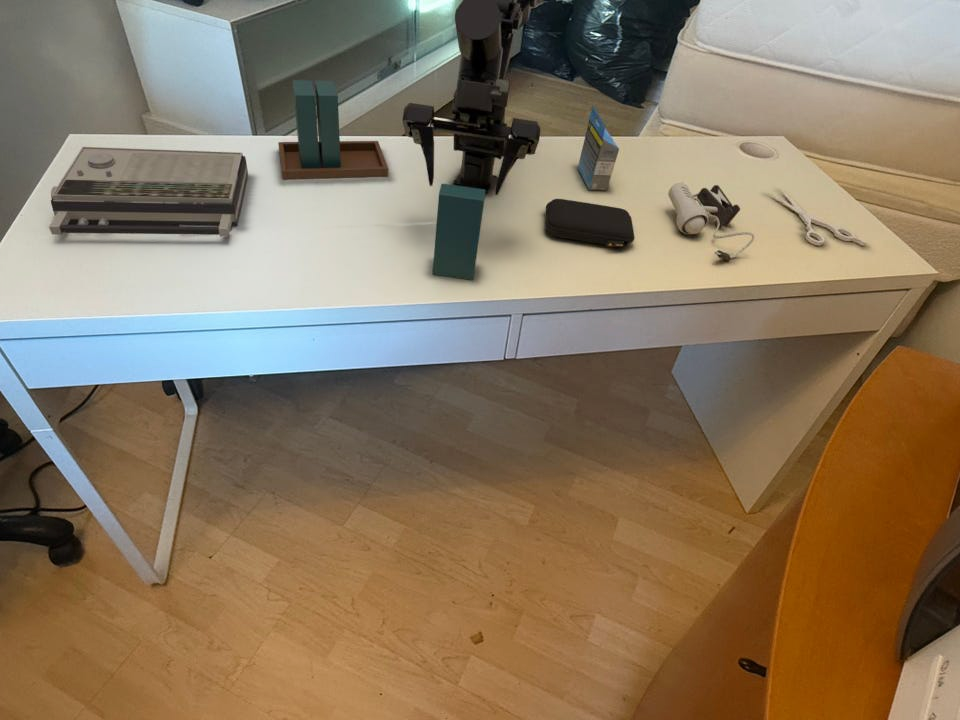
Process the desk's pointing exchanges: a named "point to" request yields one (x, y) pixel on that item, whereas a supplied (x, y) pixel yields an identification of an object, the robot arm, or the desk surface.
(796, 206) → the scissors
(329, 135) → the teal book
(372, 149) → the book tray
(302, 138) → the teal book
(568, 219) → the carrying case
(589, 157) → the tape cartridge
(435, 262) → the slim teal book
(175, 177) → the radio
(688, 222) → the clip-on lamp
